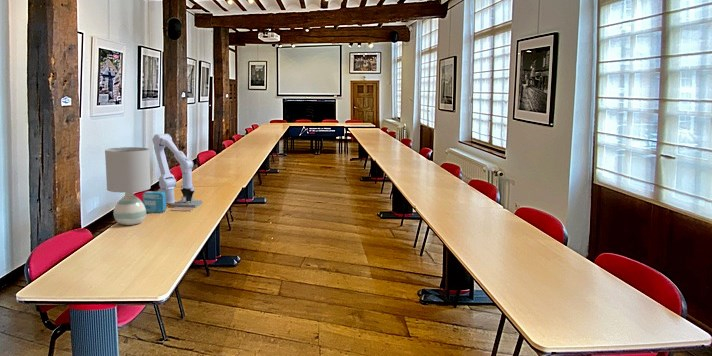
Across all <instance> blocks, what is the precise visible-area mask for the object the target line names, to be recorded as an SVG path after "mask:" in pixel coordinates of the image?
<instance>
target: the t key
mask: <svg viewBox="0 0 712 356" xmlns="http://www.w3.org/2000/svg"><path fill="white" fill-rule="evenodd" d="M180 200H182V201H186V203H190V201H187V196H183V195H182V196H181V198H180ZM191 200H195V196H194V194H193V195H192V199H191Z"/></svg>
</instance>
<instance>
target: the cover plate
mask: <svg viewBox="0 0 712 356" xmlns="http://www.w3.org/2000/svg"><path fill="white" fill-rule="evenodd" d="M201 205H203V199H201V200H200V199H199V200H198V199H197V200H196V199H194V200H191V201H190V203H186V201H182V199H179V200H178V201H176V202H174V203H173V204H172V209H173V208H175V207H190V208H195V209H196V208H198V207H199V206H201Z"/></svg>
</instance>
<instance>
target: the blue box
mask: <svg viewBox="0 0 712 356" xmlns="http://www.w3.org/2000/svg"><path fill="white" fill-rule="evenodd" d="M142 202H143V204H144V206H145V208H146V214H147V213H150V214H152V213H153V214H162V213H164V212H165V211H166V210H167V203H166V194H165V193H164V192H158V191H152V190H151V191H149V190H146V192H144V193H142Z"/></svg>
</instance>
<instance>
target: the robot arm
mask: <svg viewBox="0 0 712 356" xmlns="http://www.w3.org/2000/svg"><path fill="white" fill-rule="evenodd" d="M151 139H152V140H151V141H152V143H153V150H154V152H155V153H154V154H155V156H156V160H157V165H158V167H159V171H160V172H159V173H160V174H161V175H160V176H159V177H158V182H159V183H158V185H159V187H160V188H158V191H157V192H164V193H165V194H166V205H167V204H168V205H169V204H171V205H173V204H174V203H176V202H177V200H176V199H175V188H176V186H177V179H176V178H175V175H174V174H172V173H171V171H170V168H169V164H168V162H167V157H166V153H165V148H166V147H167V148H168V149H169V150H170V151H171V152H172V153H173V154H174V155H173V157H174V158H175V159H176V161H177V162H178V163H179V168H180V170H181V173H182V175H181V177H182V179H181V180H182V181H181V182H182V184H180V188H181V189H180V192H181V193H182V196H187V201H191V199H192V195H193V196H194V193H195V187H194V185H193V171H192V170H193V168H194V165H195V164H194V161H193V160H192V159H189V158H188V157H187V155H186V154H185V153H184V152H183V151H182V150H179V149H178V147H177V146H176V144H175V143H174V142H173V138H172V136H171V134H169V133H162V134H159V133H158V134H154V135H153V137H152V138H151Z"/></svg>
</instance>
